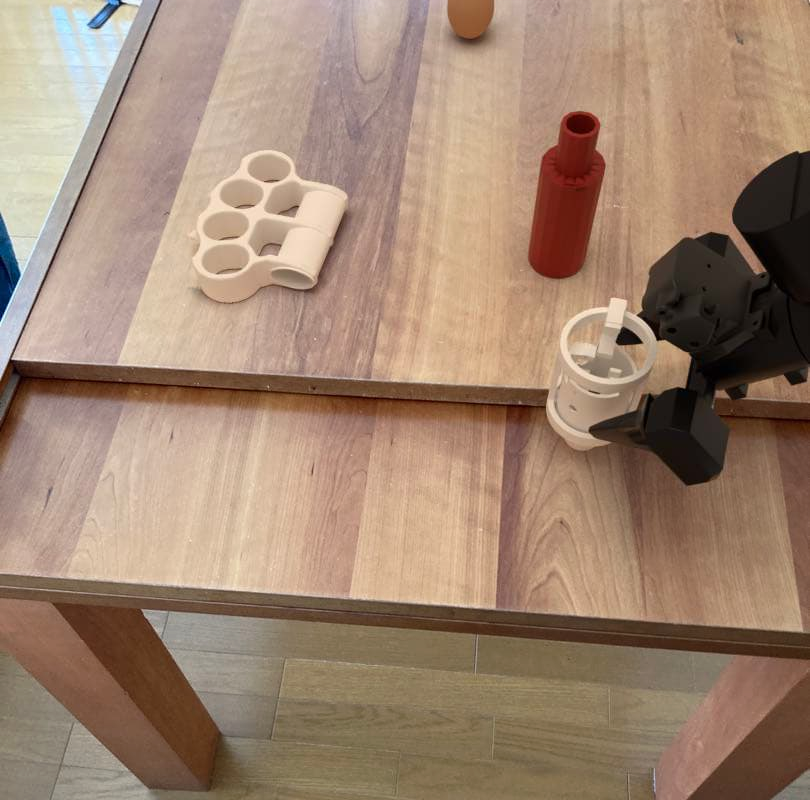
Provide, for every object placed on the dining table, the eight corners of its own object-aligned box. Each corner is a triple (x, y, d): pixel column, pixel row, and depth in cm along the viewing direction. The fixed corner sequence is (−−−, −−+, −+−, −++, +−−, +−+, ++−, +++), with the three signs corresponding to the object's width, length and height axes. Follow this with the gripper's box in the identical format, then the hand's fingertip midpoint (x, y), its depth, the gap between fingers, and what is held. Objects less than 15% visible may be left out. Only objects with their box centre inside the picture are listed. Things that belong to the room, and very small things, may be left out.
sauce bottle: (576, 232, 83) (604, 97, 70) (590, 274, 81) (622, 141, 67) (522, 240, 83) (540, 106, 69) (535, 282, 81) (556, 151, 67)
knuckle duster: (306, 319, 79) (167, 292, 81) (359, 190, 87) (230, 168, 89) (301, 295, 76) (156, 267, 78) (356, 163, 84) (223, 141, 86)
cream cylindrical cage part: (624, 421, 73) (668, 306, 60) (611, 488, 70) (654, 383, 57) (546, 405, 74) (572, 288, 61) (530, 470, 71) (553, 363, 58)
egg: (454, 53, 96) (456, -8, 90) (441, 26, 98) (441, -36, 92) (498, 44, 96) (503, -18, 90) (483, 17, 99) (487, -46, 92)
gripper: (768, 130, 52) (569, 229, 64) (726, 358, 44) (509, 423, 56) (839, 249, 58) (646, 320, 69) (813, 468, 50) (601, 506, 62)
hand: (603, 385), depth 64 cm, fingers open, 9 cm apart
